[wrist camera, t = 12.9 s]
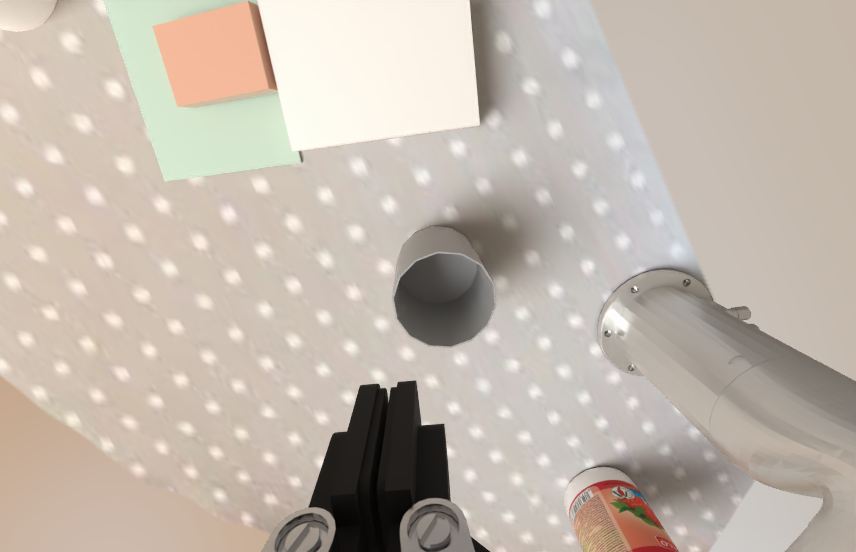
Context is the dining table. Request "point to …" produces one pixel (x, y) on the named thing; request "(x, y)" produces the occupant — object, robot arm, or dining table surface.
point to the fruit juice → (613, 514)
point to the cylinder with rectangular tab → (24, 13)
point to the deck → (371, 68)
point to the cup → (442, 289)
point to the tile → (216, 56)
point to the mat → (203, 126)
